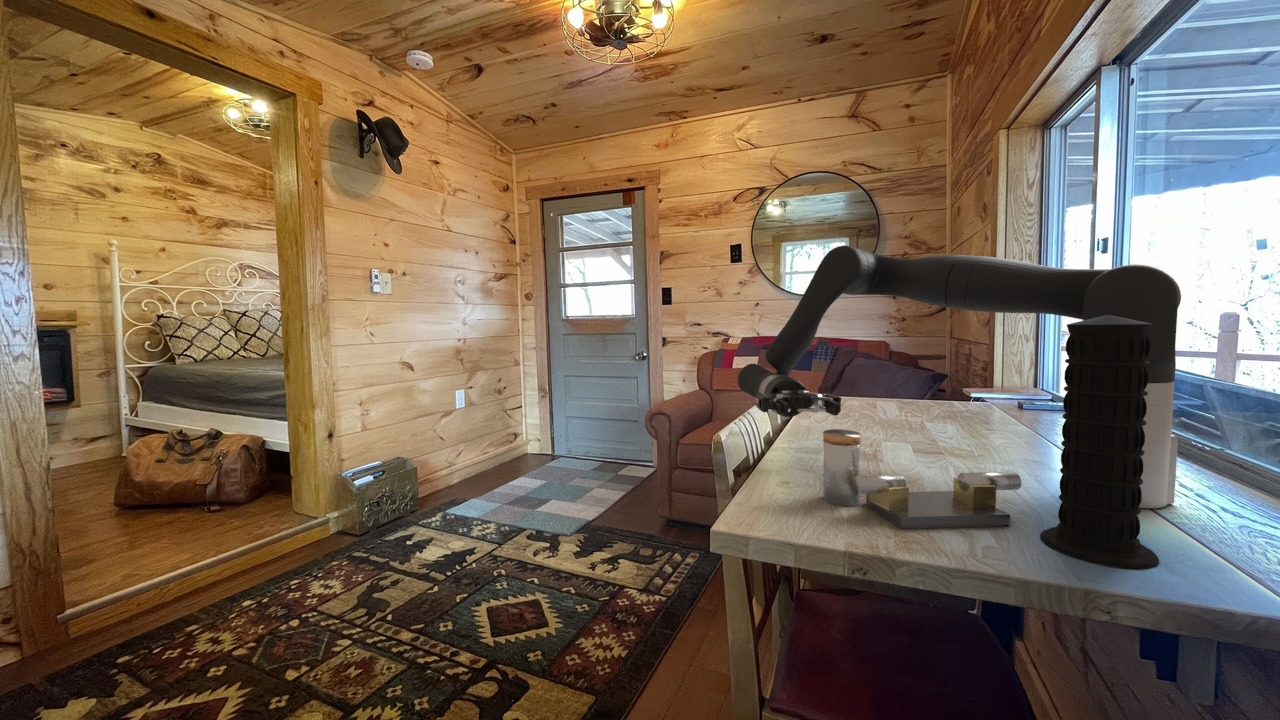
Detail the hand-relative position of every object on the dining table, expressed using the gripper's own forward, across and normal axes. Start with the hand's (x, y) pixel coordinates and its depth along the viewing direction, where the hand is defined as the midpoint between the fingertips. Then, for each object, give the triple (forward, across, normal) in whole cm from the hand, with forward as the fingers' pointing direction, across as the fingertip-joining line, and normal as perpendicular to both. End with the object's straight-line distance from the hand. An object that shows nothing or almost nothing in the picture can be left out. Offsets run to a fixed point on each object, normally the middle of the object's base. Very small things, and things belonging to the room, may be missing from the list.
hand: (811, 409), depth 84 cm
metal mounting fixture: (+18, +10, +11) cm, 23 cm away
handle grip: (+29, +22, +11) cm, 38 cm away
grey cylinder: (+12, 0, +11) cm, 16 cm away
